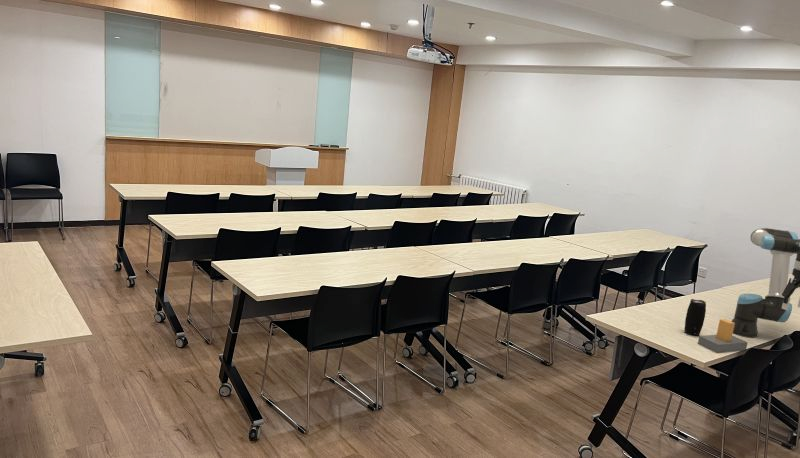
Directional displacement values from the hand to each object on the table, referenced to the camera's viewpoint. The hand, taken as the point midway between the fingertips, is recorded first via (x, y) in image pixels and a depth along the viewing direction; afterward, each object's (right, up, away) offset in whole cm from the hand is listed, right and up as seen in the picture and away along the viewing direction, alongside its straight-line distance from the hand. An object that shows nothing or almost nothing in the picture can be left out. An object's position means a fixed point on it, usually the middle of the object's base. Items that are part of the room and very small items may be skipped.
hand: (792, 308), depth 309 cm
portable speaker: (-39, -18, +28) cm, 51 cm away
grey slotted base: (-31, -22, +11) cm, 40 cm away
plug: (-31, -22, +11) cm, 40 cm away
